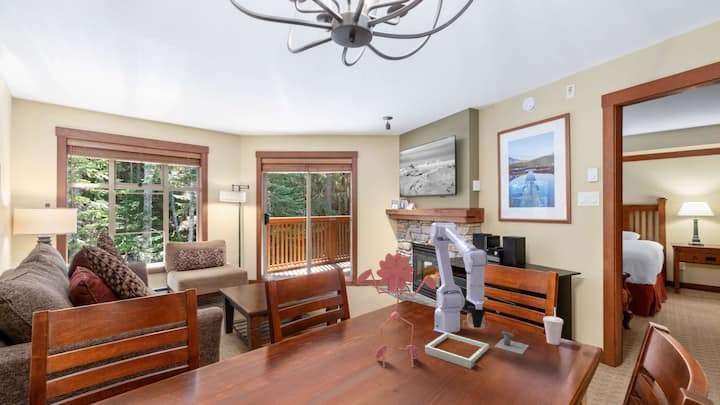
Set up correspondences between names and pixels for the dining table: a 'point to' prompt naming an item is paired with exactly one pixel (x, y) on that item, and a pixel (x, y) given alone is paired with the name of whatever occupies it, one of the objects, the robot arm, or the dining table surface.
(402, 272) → the figurine
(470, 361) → the tray
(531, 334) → the dining table surface
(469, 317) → the collar
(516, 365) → the dining table surface
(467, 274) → the robot arm
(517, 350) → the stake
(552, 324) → the smoothie
